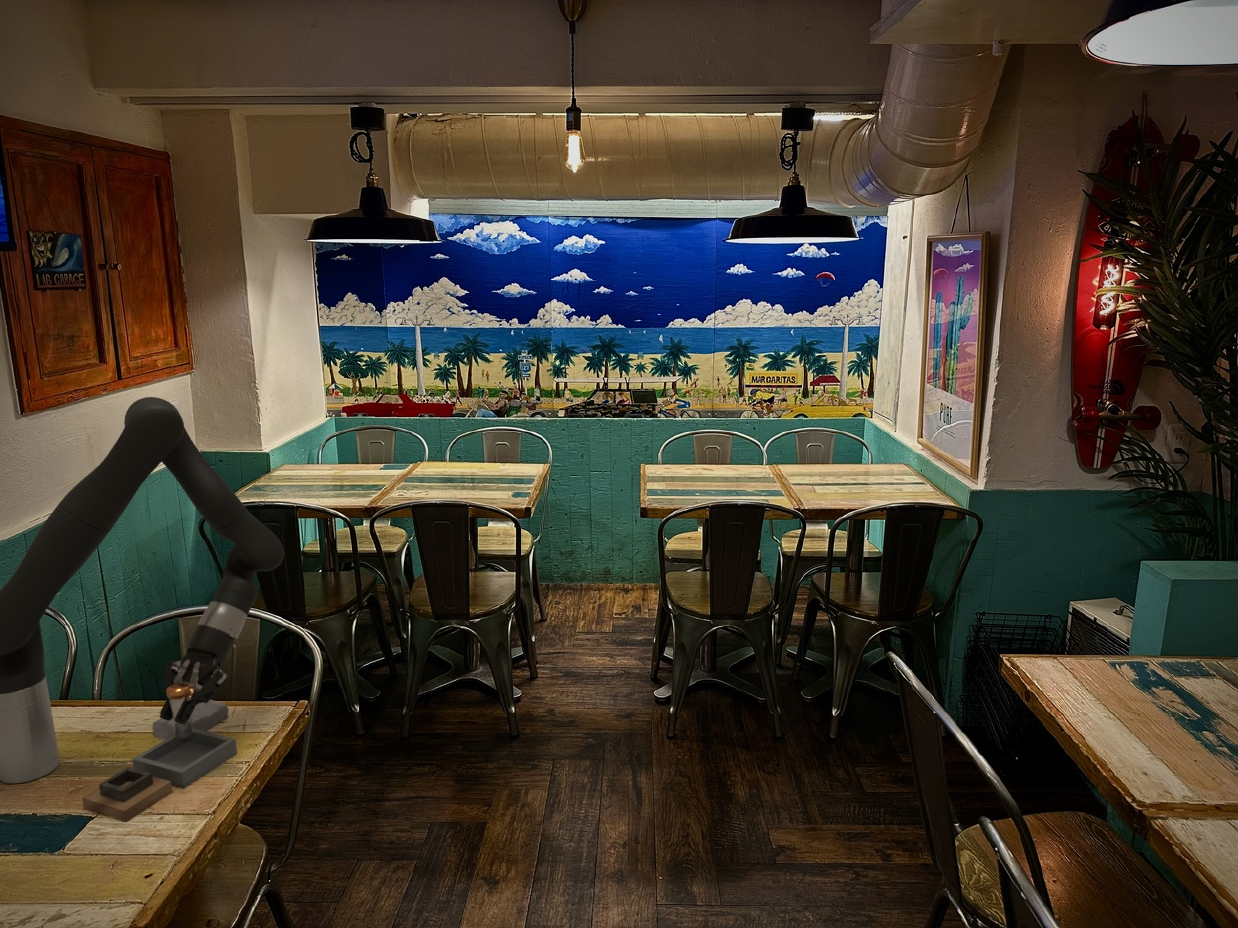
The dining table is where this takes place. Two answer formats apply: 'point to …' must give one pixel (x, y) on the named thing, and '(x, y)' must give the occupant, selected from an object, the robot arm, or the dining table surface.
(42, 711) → the robot arm
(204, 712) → the stone block
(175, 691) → the pin
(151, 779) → the bracket
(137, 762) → the tray
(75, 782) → the dining table surface
